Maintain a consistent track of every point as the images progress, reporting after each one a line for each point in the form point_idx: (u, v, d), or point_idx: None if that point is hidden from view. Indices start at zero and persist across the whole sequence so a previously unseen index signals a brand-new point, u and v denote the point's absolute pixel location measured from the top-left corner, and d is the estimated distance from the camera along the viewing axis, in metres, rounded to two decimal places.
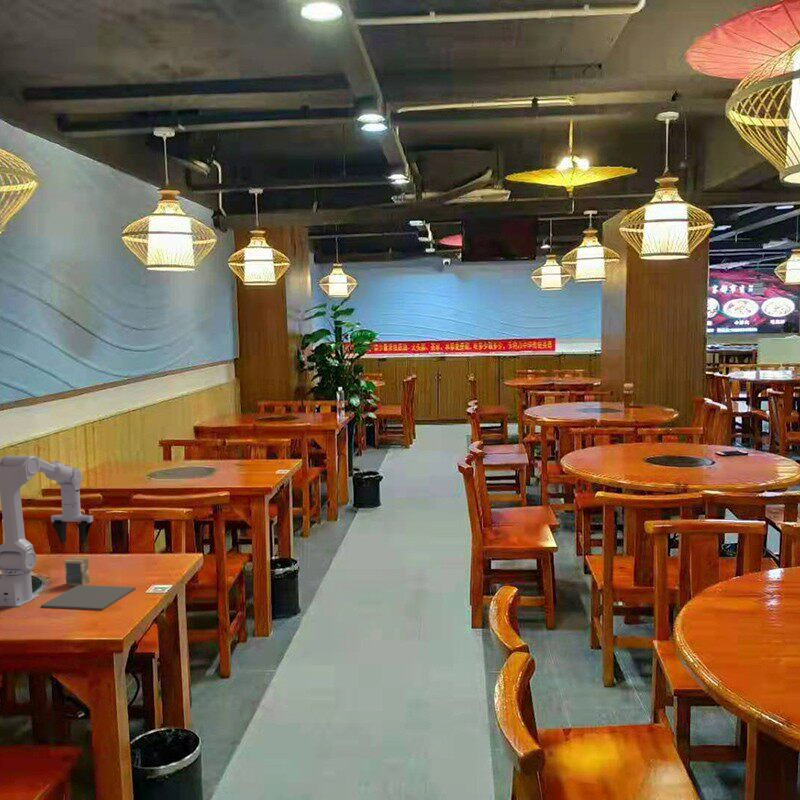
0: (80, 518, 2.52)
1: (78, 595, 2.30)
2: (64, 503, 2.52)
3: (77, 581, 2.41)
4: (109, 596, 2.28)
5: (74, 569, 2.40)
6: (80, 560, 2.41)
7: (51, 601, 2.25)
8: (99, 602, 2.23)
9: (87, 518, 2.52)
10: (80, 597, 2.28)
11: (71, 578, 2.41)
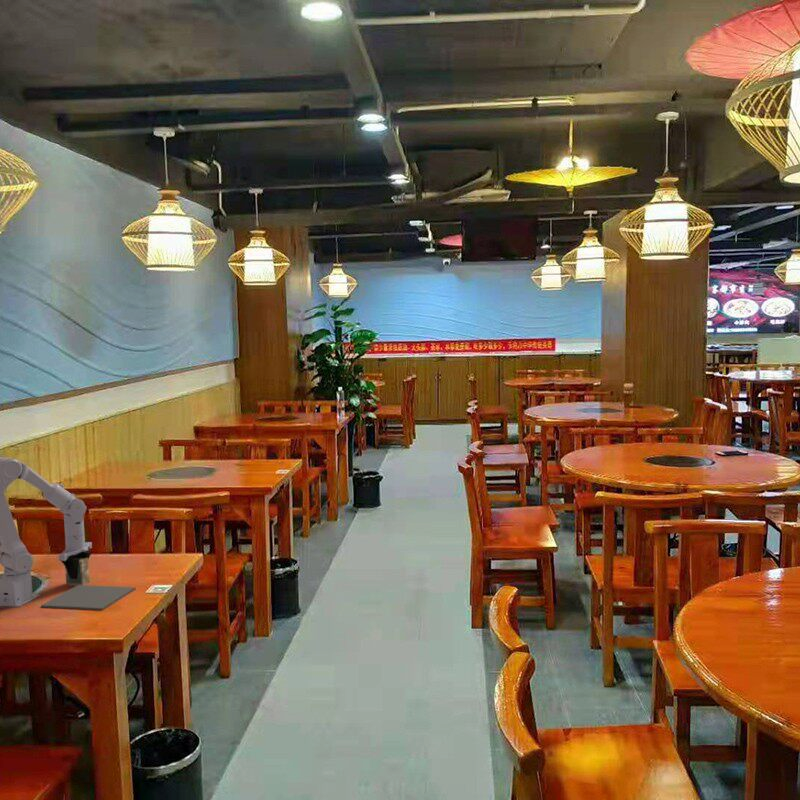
0: None
1: (78, 595, 2.30)
2: (65, 535, 2.40)
3: (77, 581, 2.41)
4: (109, 596, 2.28)
5: None
6: (80, 560, 2.41)
7: (51, 601, 2.25)
8: (99, 602, 2.23)
9: None
10: (80, 597, 2.28)
11: None
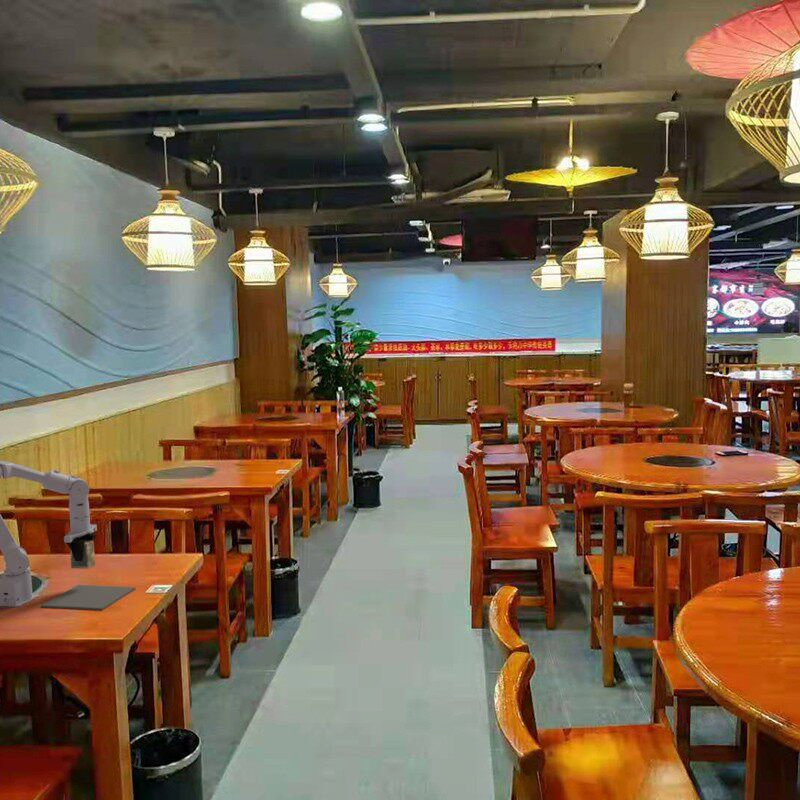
0: None
1: (78, 595, 2.30)
2: (70, 516, 2.35)
3: (82, 564, 2.35)
4: (109, 596, 2.28)
5: None
6: (85, 542, 2.36)
7: (51, 601, 2.25)
8: (99, 602, 2.23)
9: None
10: (80, 597, 2.28)
11: (76, 561, 2.36)
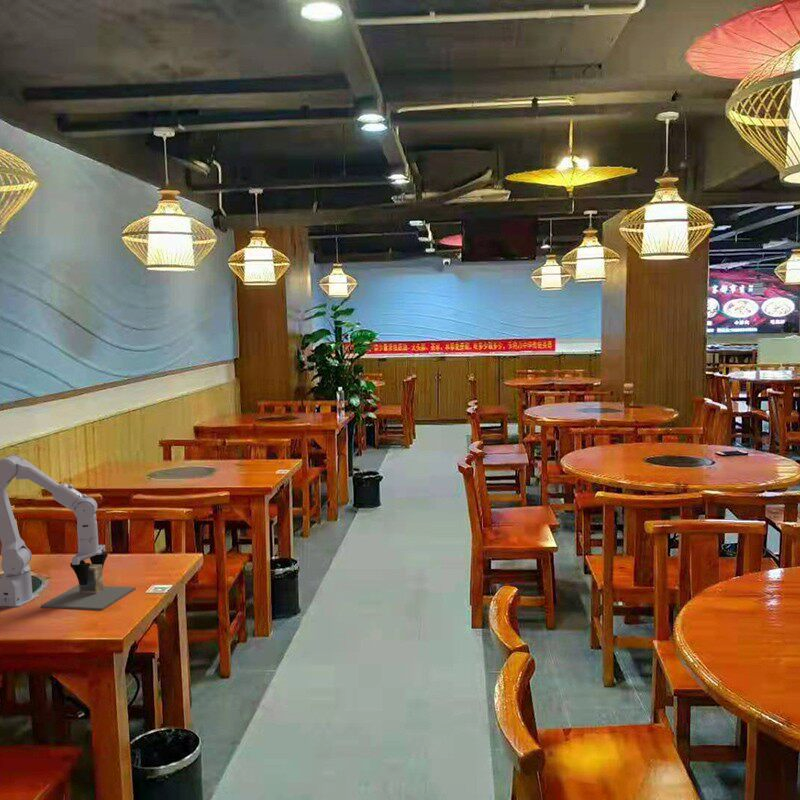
0: None
1: (78, 595, 2.30)
2: None
3: (91, 588, 2.31)
4: (109, 596, 2.28)
5: None
6: (94, 567, 2.31)
7: (51, 601, 2.25)
8: (99, 602, 2.23)
9: None
10: (80, 597, 2.28)
11: (84, 585, 2.31)
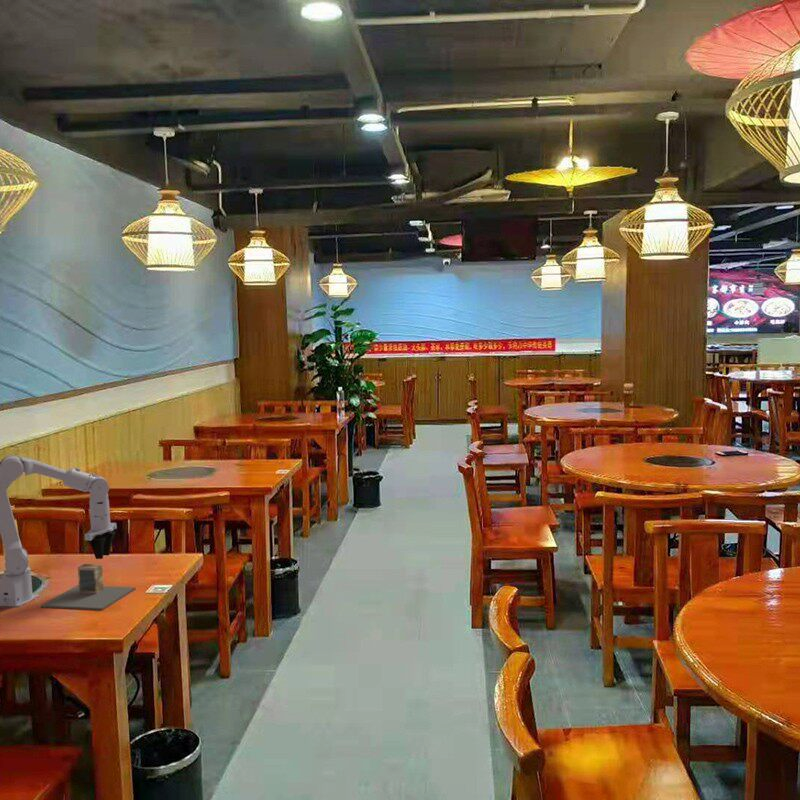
0: None
1: (78, 595, 2.30)
2: (90, 514, 2.37)
3: (91, 588, 2.31)
4: (109, 596, 2.28)
5: (87, 576, 2.31)
6: (94, 567, 2.31)
7: (51, 601, 2.25)
8: (99, 602, 2.23)
9: None
10: (80, 597, 2.28)
11: (84, 585, 2.31)
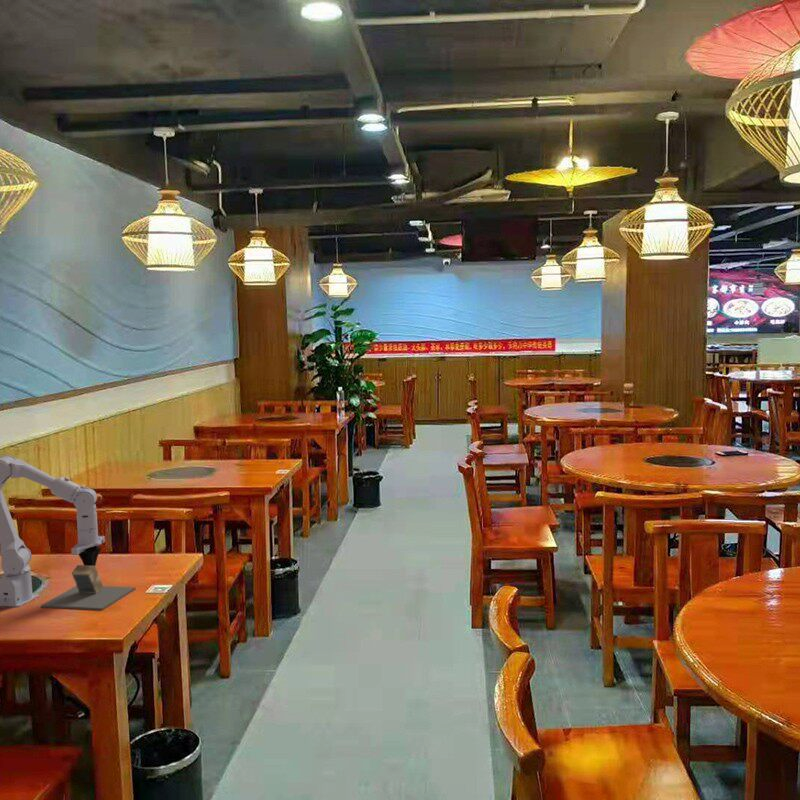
0: None
1: (78, 595, 2.30)
2: None
3: (89, 590, 2.30)
4: (109, 596, 2.28)
5: (83, 580, 2.29)
6: (87, 571, 2.28)
7: (51, 601, 2.25)
8: (99, 602, 2.23)
9: None
10: (80, 597, 2.28)
11: (83, 587, 2.30)
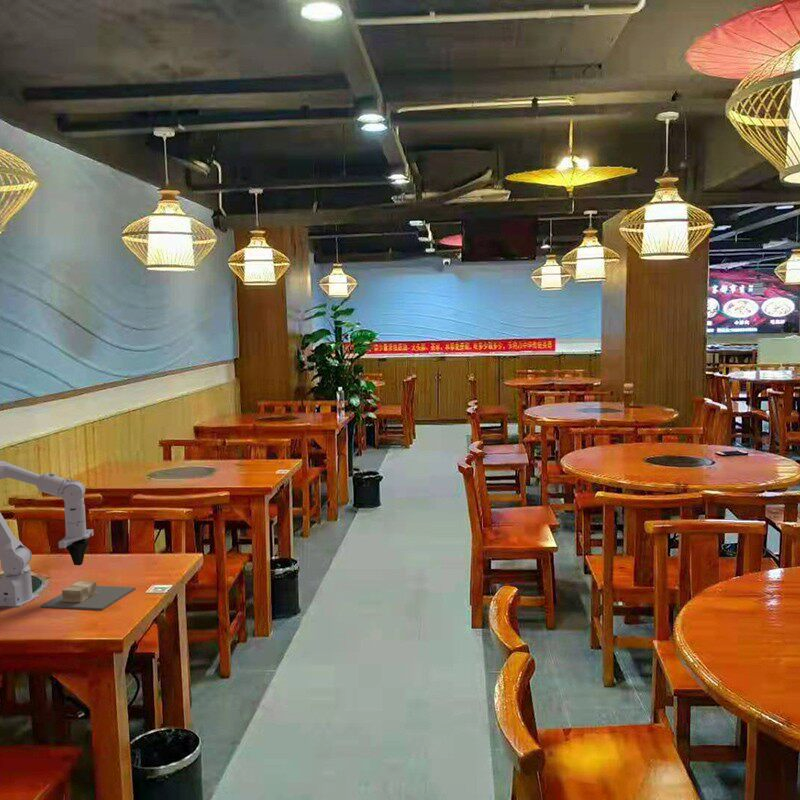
0: None
1: None
2: None
3: None
4: (109, 596, 2.28)
5: None
6: (77, 599, 2.23)
7: (51, 601, 2.25)
8: (99, 602, 2.23)
9: None
10: None
11: None
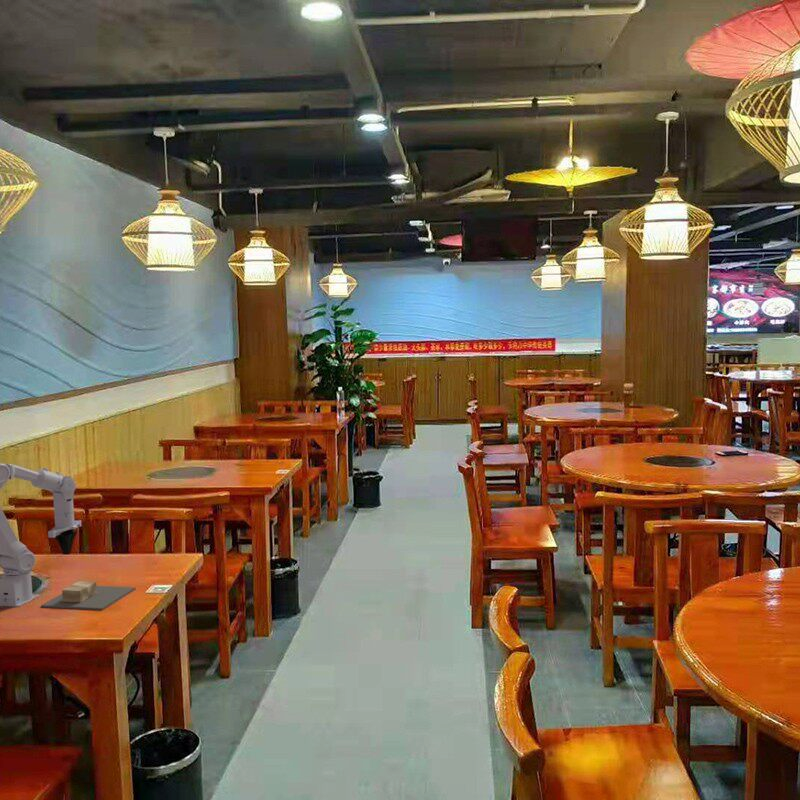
0: None
1: None
2: (55, 512, 2.40)
3: None
4: (109, 596, 2.28)
5: None
6: (77, 599, 2.23)
7: (51, 601, 2.25)
8: (99, 602, 2.23)
9: None
10: None
11: None
